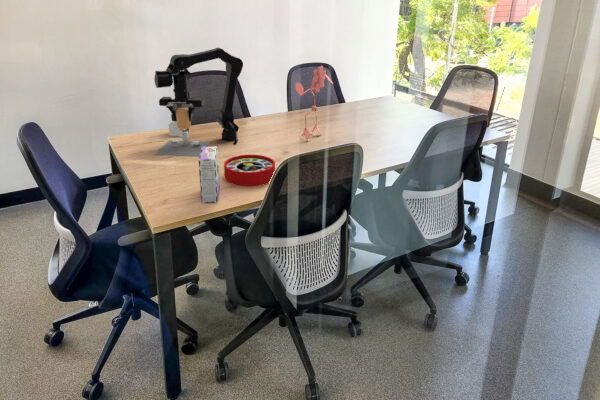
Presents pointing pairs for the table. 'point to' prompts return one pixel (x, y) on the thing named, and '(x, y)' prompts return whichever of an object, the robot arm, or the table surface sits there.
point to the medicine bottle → (175, 128)
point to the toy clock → (249, 170)
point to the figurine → (317, 83)
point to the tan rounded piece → (183, 118)
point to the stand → (183, 147)
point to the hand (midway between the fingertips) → (183, 121)
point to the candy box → (209, 174)
